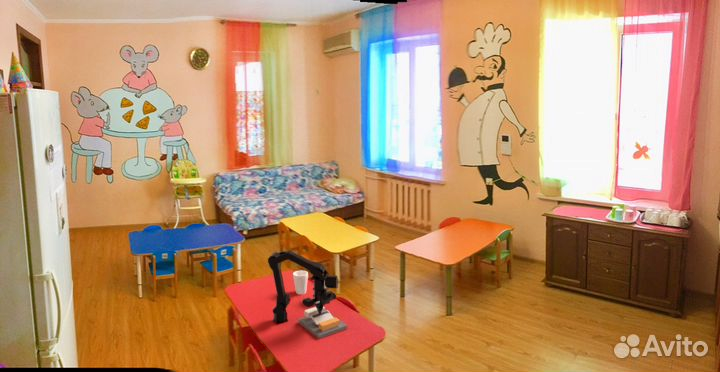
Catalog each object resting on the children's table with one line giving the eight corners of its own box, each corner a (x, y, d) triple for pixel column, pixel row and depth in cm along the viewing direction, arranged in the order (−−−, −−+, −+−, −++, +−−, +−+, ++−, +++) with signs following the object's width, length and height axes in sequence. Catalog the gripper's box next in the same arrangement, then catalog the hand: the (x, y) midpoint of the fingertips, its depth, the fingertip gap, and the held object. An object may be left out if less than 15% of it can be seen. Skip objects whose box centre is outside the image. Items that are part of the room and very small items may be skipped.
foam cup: (296, 296, 307) (295, 277, 305) (291, 291, 316) (290, 272, 313) (310, 293, 312) (310, 274, 309) (305, 288, 320) (304, 269, 317)
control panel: (319, 339, 257) (318, 331, 256) (298, 322, 275) (298, 315, 274) (347, 328, 268) (347, 321, 267) (325, 313, 285) (325, 307, 284)
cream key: (308, 318, 272) (308, 313, 271) (304, 315, 275) (304, 310, 274) (325, 312, 278) (324, 307, 278) (321, 309, 281) (321, 305, 281)
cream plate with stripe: (316, 325, 265) (317, 324, 264) (310, 316, 270) (310, 315, 269) (333, 319, 271) (334, 318, 271) (327, 311, 276) (327, 309, 275)
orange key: (322, 331, 260) (322, 326, 260) (318, 328, 264) (318, 323, 263) (339, 325, 267) (339, 320, 266) (335, 322, 270) (335, 317, 269)
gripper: (312, 296, 257) (312, 323, 260) (341, 287, 268) (342, 314, 271) (301, 289, 266) (302, 315, 269) (330, 281, 276) (331, 306, 280)
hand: (319, 313), depth 272 cm, fingers closed
